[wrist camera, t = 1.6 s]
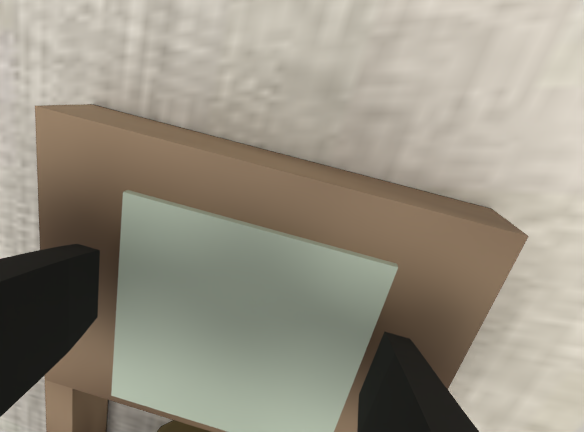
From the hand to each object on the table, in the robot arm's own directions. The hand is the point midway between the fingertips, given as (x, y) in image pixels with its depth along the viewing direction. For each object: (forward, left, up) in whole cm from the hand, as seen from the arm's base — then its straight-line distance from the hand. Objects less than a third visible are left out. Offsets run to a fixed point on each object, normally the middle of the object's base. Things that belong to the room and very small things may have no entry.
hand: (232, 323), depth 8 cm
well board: (-6, 0, -3) cm, 6 cm away
